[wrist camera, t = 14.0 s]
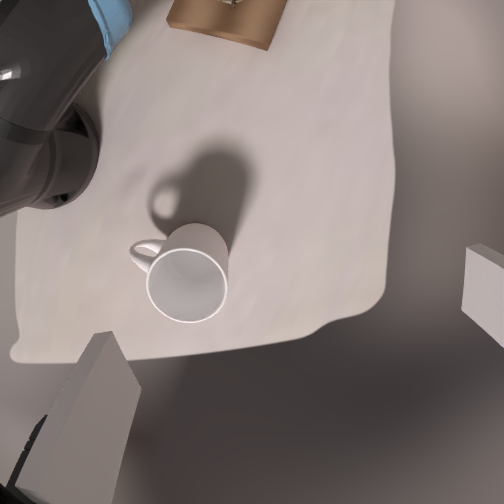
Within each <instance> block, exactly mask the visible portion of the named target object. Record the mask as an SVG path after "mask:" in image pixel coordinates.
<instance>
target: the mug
mask: <svg viewBox="0 0 504 504" xmlns="http://www.w3.org/2000/svg"><path fill="white" fill-rule="evenodd" d="M135 247H146V248H149V249H151V250H153V251H155V252H156V253H158V254H157V256H156V257H150V256H146V255H143V254H140V253H138V252H136V251H135V250H134V248H135ZM129 253H130V256H131V258H132V260H133V261H134V262H135V263H136V264H137V265H138V266H139V267H140V268H141V269H143V270H144V271H145V272H146V273H147V277H146V288H147V292H148V295H149V298H150V300H151V302H152V303H153V305H154V306H155V307H156V308H157V309H158V310H159V311H160V312H161V313H162V314H164V315H165V316H167V317H169V318H170V319H173V320H175V321H179V322H185V323H195V322H200V321H203V320H206V319H208V318H210V317H212V316H213V315H215V314H216V313H217V312H218V311H219V310H220V309H221V307H222V306H223V305H224V303H225V301H226V298H227V294H228V250H227V246H226V243H225V241H224V239H223V238H222V237H221V235H220V234H219V233H218V232H217V231H216V230H214V229H213V228H211V227H209V226H207V225H204V224H199V223H192V224H186V225H183V226H181V227H179V228H177V229H176V230H175V231H173V232H172V233H171V235H170V236H169V237H168V238H167V240H157V239H151V240H143V241H140V242H137V243H135V244H134V245H132V246H131V248H130V250H129Z"/></svg>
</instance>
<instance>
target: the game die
mask: <svg viewBox="0 0 504 504" xmlns="http://www.w3.org/2000/svg"><path fill="white" fill-rule="evenodd" d="M217 1H220V2H224V3H227V4H231V6H230V8H231V9H232V10H233V9H234V8H235V6H236V5H237V4H236V3H238V2H241V1H243V0H217Z"/></svg>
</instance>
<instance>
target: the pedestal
mask: <svg viewBox="0 0 504 504" xmlns="http://www.w3.org/2000/svg"><path fill="white" fill-rule="evenodd" d="M286 2H287V0H243V1H241V2H238V3H236V4H237V5H236V6H235V8H234V9H233V10H232V9H231V8H230V6H231V4H227V3H224V2H220V1H217V0H175V1H174V3H173V5H172V7H171V9H170V12H169V14H168V16H167V18H166V20H167V22H168V24H169V26H170V27H171V28H177V29H182V30H187V31H192V32H197V33H202V34H206V35H211V36H215V37H219V38H223V39H227V40H231V41H235V42H239V43H242V44H246V45H249V46H253V47H256V48H259V49H263V50H266V51H268V49H269V46H270V44H271V41H272V38H273V36H274V33H275V30H276V28H277V25H278V22H279V20H280V17H281V15H282V12H283V10H284V7H285V4H286Z"/></svg>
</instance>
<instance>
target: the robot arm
mask: <svg viewBox="0 0 504 504" xmlns="http://www.w3.org/2000/svg"><path fill="white" fill-rule="evenodd" d="M132 21H133V13H132V7H131V5H130V3H129V0H0V218H1V217H3V216H5V215H7V214H9V213H12V212H14V211H16V210H19V209H21V208H24V207H26V206H27V207H32V208H37V209H54V208H58V207H61V206H63V205H65V204H68V203H70V202H72V201H73V200H75V199H76V198H77V197H78V196H80V195H81V194H82V193H83V191H84V190H85V189H86V188H87V186H88V185H89V183H90V181H91V179H92V177H93V175H94V172H95V169H96V166H97V161H98V152H99V146H98V137H97V133H96V129H95V126H94V124H93V122H92V120H91V118H90V117H89V115H88V114H87V113H86V112H85V111H84V110H83V109H82V108H81V107H80V106H78V105H77V104H75V103H72V102H73V101H74V99H75V98H76V97H77V95H78V94H79V92H80V91H81V90H82V88H83V87H84V86H85V84H86V83H87V82H88V80H89V79H90V78H91V77H92V75H93V74H94V73H95V71H96V70H97V69H98V68H99V66H100V65H101V64H102V63H103V62H104V61H107V60H108V58H109V57H110V56H111V51H112V50H113V49H114V48H115V46H116V45H117V44H118V43H119V42H120V40H121V39H122V38H123V37H124V36H125V34H126V33H127V32H128V31H129V29H130V27H131V25H132ZM461 310H462V311H463V312H465V313H466V314H467V315H468V316H469V317H470V318H471V319H473V320H474V321H475V322H476V323H477V324H478V325H479V326H481V327H482V328H483V329H484V330H485V331H486V332H488V334H489V335H491V336H492V337H493V338H494V339H495V340H496V341H497V342H498V343H499V344H500V345H501V346H503V348H504V256H503V255H501V254H499V253H498V252H496V251H494V250H492V249H490V248H488V247H486V246H484V245H482V244H481V243H479V244H476V245H473V246H469V247H467V248H466V266H465V280H464V291H463V301H462V309H461ZM140 392H141V387H140V385H139V383H138V382H137V380H136V378H135V376H134V374H133V372H132V371H131V368H130V367H129V365H128V363H127V361H126V359H125V357H124V355H123V353H122V351H121V349H120V347H119V345H118V343H117V341H116V338H115V336H114V334H113V332H112V331H109V332H103V333H97V334H94V335H93V337H92V338H91V340H90V342H89V343H88V345H87V347H86V348H85V350H84V352H83V353H82V355H81V357H80V359H79V360H78V362H77V364H76V366H75V367H74V369H73V371H72V372H71V374H70V376H69V378H68V379H67V381H66V383H65V385H64V386H63V389H62V390H61V392H60V394H59V396H58V397H57V399H56V401H55V403H54V405H53V407H52V409H51V411H50V413H49V414H48V415H45V416H44V417H43V418H42V419H41V420H40V421H39V423H38V424H37V425H36V426H35V428H34V430H33V431H32V433H31V435H30V437H29V439H30V440H29V441H27V443H26V445H25V447H24V449H25V450H24V451H22V453H21V455H20V458H19V460H18V462H17V464H16V466H15V468H14V470H13V472H12V475H11V477H10V479H9V481H8V484H7V485H6V487H4V486H3V485H2V484H1V483H0V504H111V503H112V498H113V494H114V490H115V486H116V481H117V477H118V473H119V469H120V465H121V461H122V457H123V453H124V449H125V446H126V442H127V438H128V435H129V431H130V427H131V424H132V420H133V416H134V413H135V410H136V406H137V402H138V399H139V395H140Z"/></svg>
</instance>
